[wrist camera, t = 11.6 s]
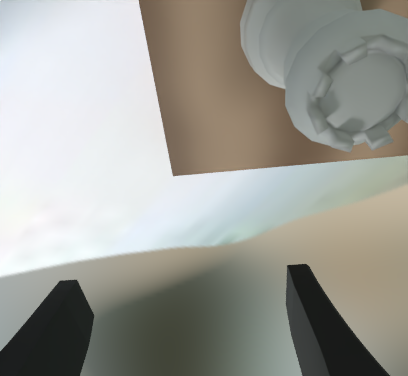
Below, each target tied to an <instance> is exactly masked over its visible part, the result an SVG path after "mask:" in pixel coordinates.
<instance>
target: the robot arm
mask: <svg viewBox="0 0 408 376" xmlns="http://www.w3.org/2000/svg"><path fill="white" fill-rule="evenodd" d="M286 307H287V313H288V319H289V325H290V331H291V336H292V339H293V343H294V347H295V350H296V354H297V357H298V361H299V365H300V368H301V372H302V375H303V376H390V375H389V374H388V373H387V372H386V371H385V370H384V369H383V367H381V365H380V364H379V363H378V362H377V361H376V360H375V358H374V357H373V356H372V355H371V354H370V352H369V351H368V350H367V349H366V348H365V347H364V345H363V344H362V343H361V342H360V340H359V339H358V338H357V337H356V335H355V334H354V333H353V331H352V330H351V329H350V327H349V326H348V325H347V324H346V322H345V321H344V319H343V318H342V317H341V315H340V314H339V313H338V311H337V310H336V308H335V307H334V306H333V304H332V303H331V301H330V300H329V298H328V297H327V295H326V294H325V292H324V291H323V289H322V287H321V286H320V284H319V283H318V281H317V279H316V278H315V276H314V274H313V272H312V271H311V269H310V267H309V266H308V265H307V264H298V265H288V266H287V288H286ZM93 319H94V314H93V312H92V310H91V308H90V306H89V304H88V302H87V300H86V298H85V296H84V293H83V292H82V290H81V287H80V285H79V283H78V281H77V280H66V281H59V283H58V284H57V285H56V286H55V287H54V289H53V290H52V291H51V292H50V294H49V295H48V296H47V297H46V298H45V299H44V301H43V302H42V303H41V304H40V306H39V307H38V308H37V309H36V310H35V312H34V313H33V314H32V315H31V317H30V318H29V319H28V320H27V321H26V323H25V324H24V325H23V326H22V327H21V328H20V330H19V331H18V332H17V333H16V334H15V335H14V337H13V338H12V339H11V340H10V341H9V342H8V344H7V345H6V346H5V347H4V348H3V349H2V350H1V351H0V376H80V373H81V370H82V366H83V363H84V360H85V357H86V353H87V350H88V346H89V342H90V337H91V331H92V326H93Z"/></svg>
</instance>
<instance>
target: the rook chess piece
mask: <svg viewBox="0 0 408 376" xmlns="http://www.w3.org/2000/svg"><path fill="white" fill-rule="evenodd" d="M240 32H241V47H242V49H243V51H244V53H245V55H246V57H247V60H248V62H249V64H250V66H251V67H252V68H253V70H254V71H255V72H256V73H257V74H258V75H259V76H260V77H262V78H263V79H264V80H265V81H266V82H267V83H268V84H270V85H273V86H276V87H280V88H283V89H285V106H286V109H287V111H288V113H289V116H290V118H291V120H292V122H293V125H294V127H295V128H297V129H298V130H299V131H300V132H301V133H303V134H304V135H305V136H306V137H307V138H309V139H310V140H311V141H314V142H318V143H321V144H325V145H329V146H331V147H332V148H335V149H339V150H343V151H346V152H350V153H351V150H352V147H353V145H359V144H361V143H364V142H366V143H367V145H368V146H369V147H370V149H371V150H372V151H373V150H375V149H377V148H380V147H382V146H385V145H387V144H390V143H392V142H394V141H393V139H392V138H391V136H390V134H389V133H388V132H387V131H388V130H390V129H391V128H392V127H393V126H394V125H396V124H397V123H398V122H399V121H400V120H403V121H405V122H406V123H408V19H407V18H405V17H402V16H400V15H397V14H394V13H391V12H388V11H385V10H382V9H374V10H366V11H363V10H362V7H361V3H360V0H247V2H246V5H245V9H244V12H243V15H242V18H241V21H240Z"/></svg>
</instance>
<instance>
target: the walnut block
mask: <svg viewBox="0 0 408 376" xmlns="http://www.w3.org/2000/svg"><path fill="white" fill-rule="evenodd" d="M246 2H247V0H139V4H140V9H141V15H142V20H143V25H144V30H145V35H146V40H147V45H148V50H149V56H150V61H151V66H152V71H153V76H154V81H155V86H156V91H157V96H158V102H159V107H160V112H161V117H162V122H163V127H164V132H165V137H166V143H167V148H168V153H169V158H170V163H171V168H172V173H173V176H179V175H191V174H202V173H213V172H224V171H236V170H247V169H258V168H269V167H280V166H292V165H303V164H314V163H325V162H337V161H348V160H359V159H370V158H382V157H393V156H404V155H408V123H406V122H405V121H403V120H400V121H399V122H398V123H397V124H396V125H394V126H393V127H392V128H391V129H390V130H388V131H387V132H388V133H389V134H390V136H391V138H392V139H393V141H394V142H392V143H390V144H387V145H385V146H382V147H380V148H377V149H375V150H373V151H372V150H371V149H370V147H369V146H368V145H367V143H366V142H364V143H361V144H359V145H353V147H352V150H351V153H350V152H346V151H343V150H339V149H335V148H332V147H331V146H329V145H325V144H321V143H318V142H314V141H311V140H310V139H309V138H307V137H306V136H305V135H304V134H303V133H301V132H300V131H299V130H298V129H297V128H295V127H294V125H293V122H292V120H291V118H290V116H289V113H288V111H287V109H286V106H285V89H283V88H280V87H276V86H273V85H270V84H268V83H267V82H266V81H265V80H264V79H263V78H262V77H260V76H259V75H258V74H257V73H256V72H255V71H254V70H253V68H252V67H251V66H250V64H249V62H248V60H247V57H246V55H245V53H244V51H243V49H242V47H241V32H240V21H241V18H242V15H243V12H244V9H245V5H246ZM360 3H361V7H362V10H363V11H366V10H374V9H382V10H385V11H388V12H391V13H394V14H397V15H400V16H402V17H405V18H407V19H408V0H360Z"/></svg>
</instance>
